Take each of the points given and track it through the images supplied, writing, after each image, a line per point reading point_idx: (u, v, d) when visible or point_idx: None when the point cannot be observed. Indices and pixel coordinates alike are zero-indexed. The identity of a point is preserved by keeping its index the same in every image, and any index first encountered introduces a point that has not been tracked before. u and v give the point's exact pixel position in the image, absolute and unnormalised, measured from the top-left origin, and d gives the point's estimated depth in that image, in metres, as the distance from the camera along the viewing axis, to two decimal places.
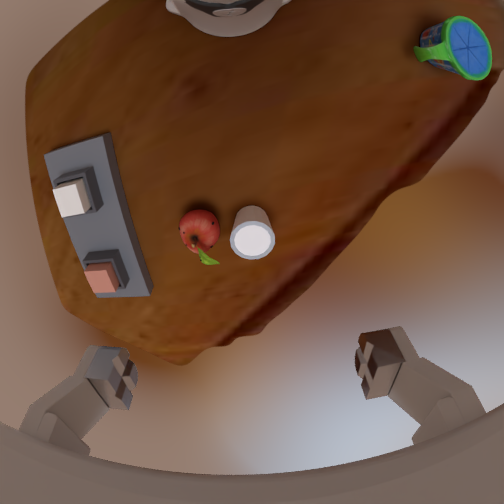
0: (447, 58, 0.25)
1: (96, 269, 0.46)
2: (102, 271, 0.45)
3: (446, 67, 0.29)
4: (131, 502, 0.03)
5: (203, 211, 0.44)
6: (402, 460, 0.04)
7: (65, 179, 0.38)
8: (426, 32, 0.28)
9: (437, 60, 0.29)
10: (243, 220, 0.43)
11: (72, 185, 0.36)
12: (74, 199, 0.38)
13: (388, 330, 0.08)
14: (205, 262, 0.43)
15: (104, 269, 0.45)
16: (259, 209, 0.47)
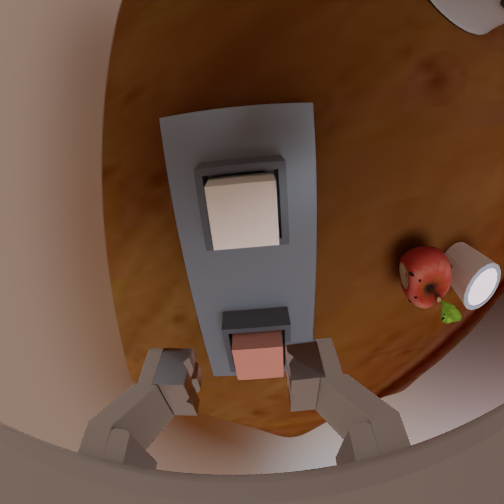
0: None
1: (259, 345, 0.27)
2: (274, 348, 0.27)
3: None
4: (131, 502, 0.03)
5: (438, 249, 0.27)
6: (402, 460, 0.04)
7: (229, 169, 0.21)
8: None
9: None
10: (480, 262, 0.26)
11: (266, 183, 0.20)
12: (261, 214, 0.21)
13: (314, 342, 0.08)
14: (448, 320, 0.25)
15: (278, 345, 0.27)
16: (471, 247, 0.30)
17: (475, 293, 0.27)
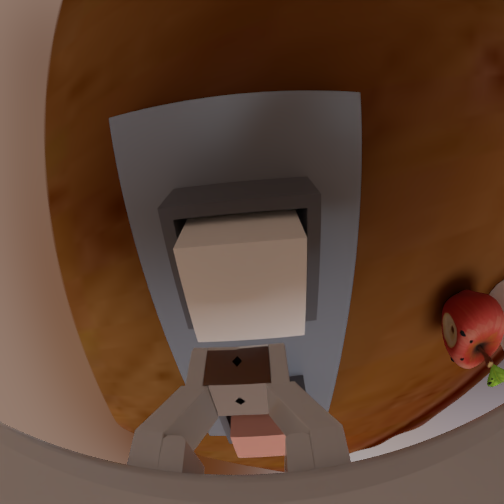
0: None
1: (266, 431, 0.19)
2: None
3: None
4: (131, 502, 0.03)
5: (493, 298, 0.18)
6: (402, 460, 0.04)
7: (221, 209, 0.12)
8: None
9: None
10: None
11: (288, 242, 0.11)
12: (277, 294, 0.12)
13: (266, 347, 0.08)
14: (494, 385, 0.16)
15: None
16: None
17: None
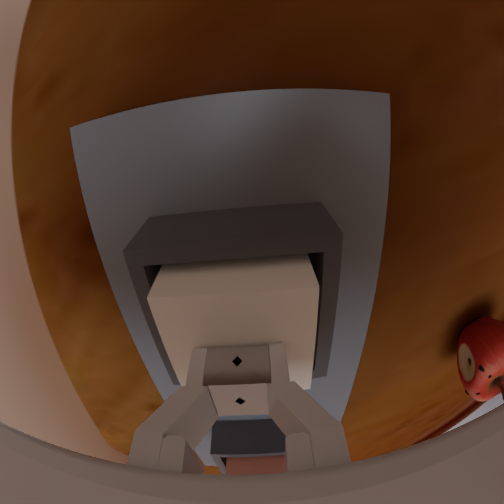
0: None
1: None
2: None
3: None
4: (131, 502, 0.03)
5: None
6: (402, 460, 0.04)
7: (206, 254, 0.09)
8: None
9: None
10: None
11: (294, 292, 0.08)
12: None
13: (266, 347, 0.08)
14: None
15: None
16: None
17: None
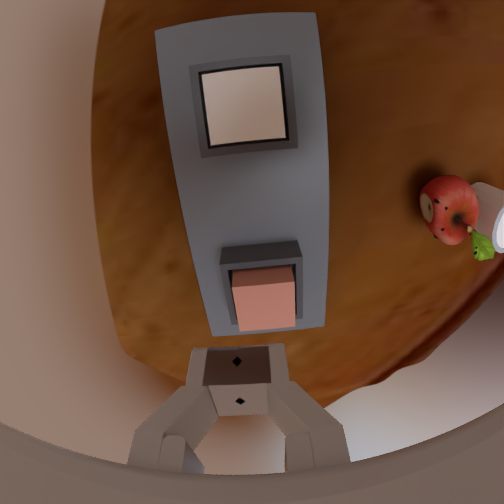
0: None
1: (265, 281, 0.23)
2: (284, 285, 0.23)
3: None
4: (131, 502, 0.03)
5: (461, 178, 0.22)
6: (402, 460, 0.04)
7: (228, 64, 0.16)
8: None
9: None
10: None
11: (268, 68, 0.16)
12: (264, 102, 0.17)
13: (266, 347, 0.08)
14: (480, 256, 0.20)
15: (289, 280, 0.23)
16: None
17: (503, 232, 0.22)
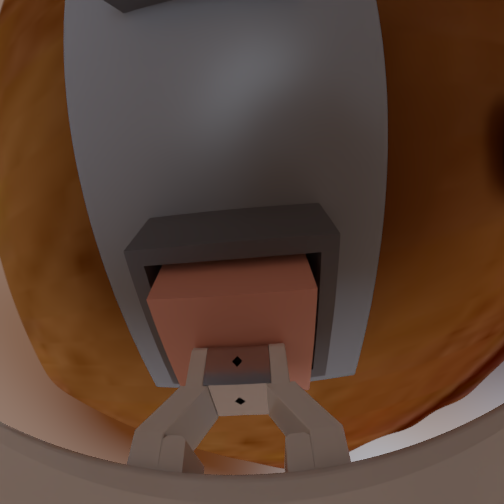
0: None
1: (237, 286, 0.08)
2: (288, 298, 0.08)
3: None
4: (131, 502, 0.03)
5: None
6: (402, 460, 0.04)
7: None
8: None
9: None
10: None
11: None
12: None
13: (266, 347, 0.08)
14: None
15: (301, 284, 0.08)
16: None
17: None
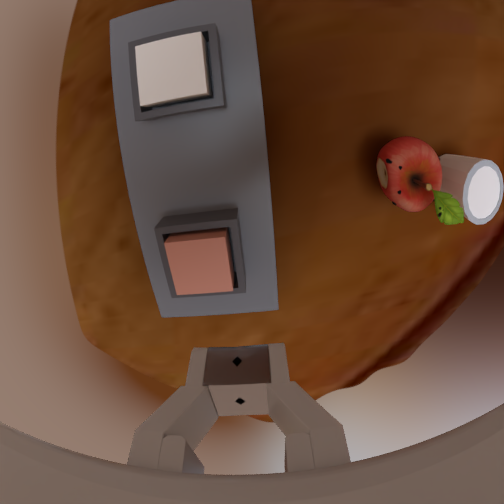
0: None
1: (197, 237, 0.23)
2: (214, 240, 0.23)
3: None
4: (131, 502, 0.03)
5: None
6: (402, 460, 0.04)
7: (161, 37, 0.16)
8: None
9: None
10: (475, 160, 0.20)
11: (191, 34, 0.16)
12: (187, 63, 0.17)
13: (266, 347, 0.08)
14: (447, 218, 0.20)
15: (220, 236, 0.23)
16: None
17: (476, 199, 0.21)
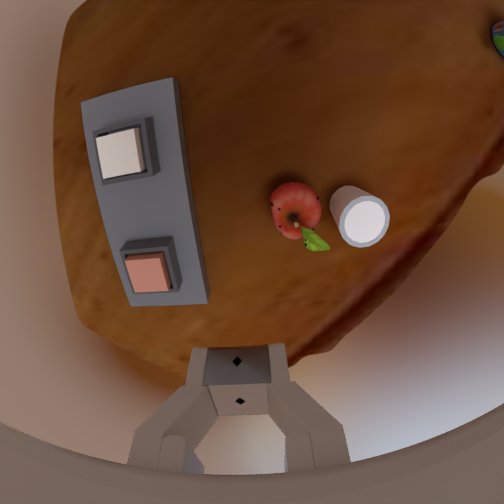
0: None
1: (144, 257, 0.35)
2: (153, 260, 0.35)
3: None
4: (131, 502, 0.03)
5: (303, 183, 0.34)
6: (402, 460, 0.04)
7: (112, 128, 0.28)
8: (498, 25, 0.20)
9: None
10: (355, 196, 0.32)
11: (128, 131, 0.27)
12: (127, 151, 0.28)
13: (266, 347, 0.08)
14: (312, 247, 0.32)
15: (157, 257, 0.35)
16: None
17: (356, 228, 0.34)
